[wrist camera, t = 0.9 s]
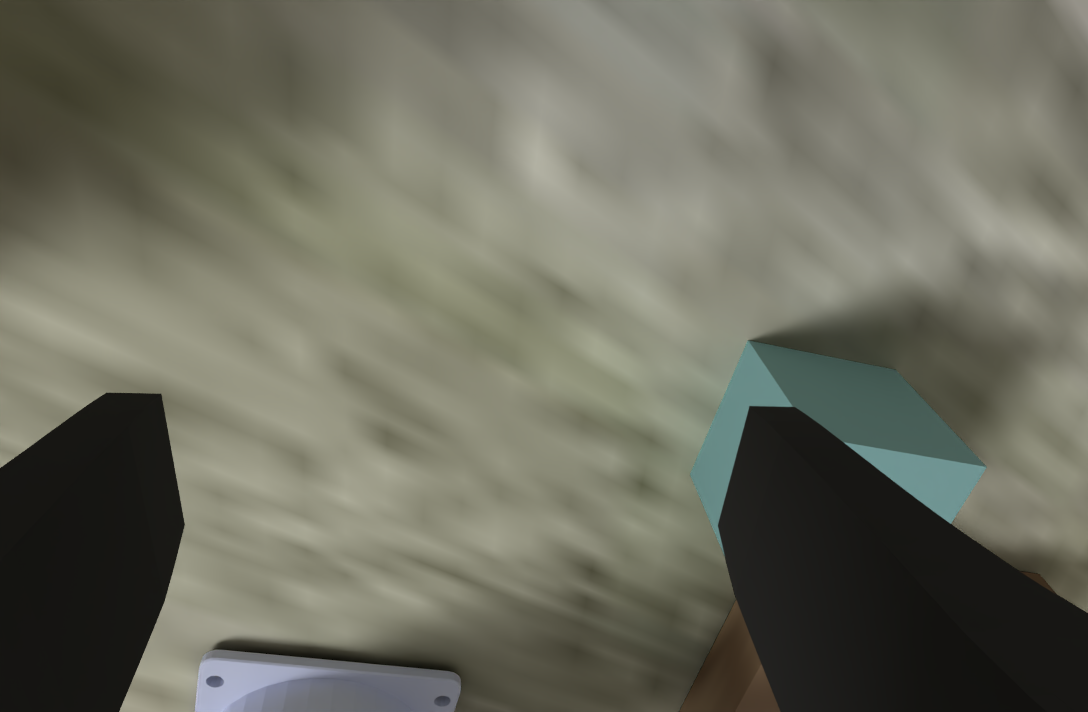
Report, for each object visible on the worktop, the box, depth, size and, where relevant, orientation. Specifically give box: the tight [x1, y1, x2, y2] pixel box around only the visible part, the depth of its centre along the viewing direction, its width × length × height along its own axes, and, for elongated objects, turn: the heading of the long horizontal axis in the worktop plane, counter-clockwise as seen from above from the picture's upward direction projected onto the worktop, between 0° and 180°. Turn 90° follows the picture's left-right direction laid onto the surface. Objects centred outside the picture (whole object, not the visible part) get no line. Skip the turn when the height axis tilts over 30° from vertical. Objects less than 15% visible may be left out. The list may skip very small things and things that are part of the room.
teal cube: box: [690, 340, 987, 556], centre depth 21 cm, size 4×4×4 cm
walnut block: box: [679, 571, 1056, 712], centre depth 28 cm, size 10×10×2 cm
